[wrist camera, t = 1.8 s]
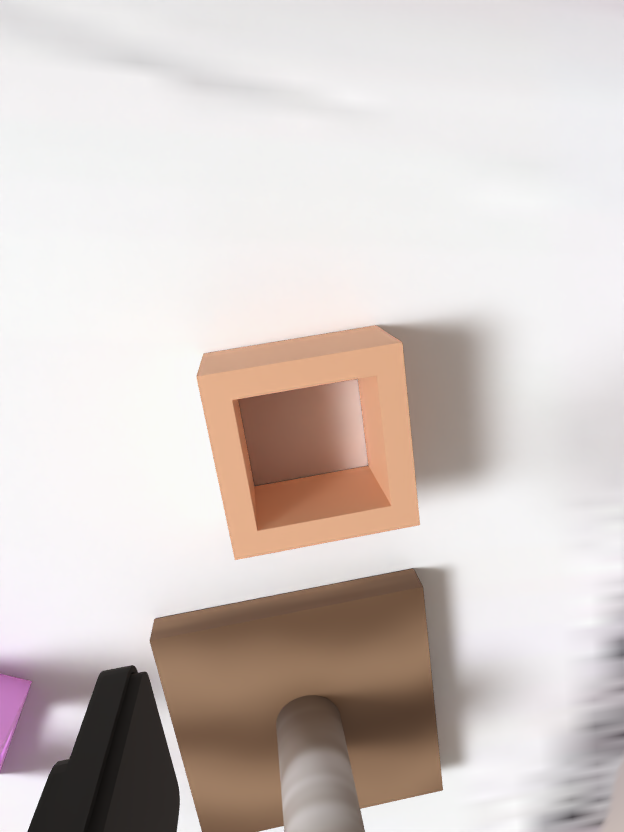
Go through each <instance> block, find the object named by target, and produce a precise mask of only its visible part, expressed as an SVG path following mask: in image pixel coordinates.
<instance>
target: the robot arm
mask: <svg viewBox="0 0 624 832" xmlns="http://www.w3.org/2000/svg"><path fill="white" fill-rule="evenodd" d="M179 806H180V796H179V787H178V782H177V779H176V775H175V771H174V768H173V764H172V760H171V757H170V753H169V749H168V746H167V742H166V738H165V735H164V731H163V727H162V724H161V720H160V716H159V713H158V709H157V705H156V702H155V698H154V694H153V691H152V687H151V683H150V680H149V676H148V674H147V672H140V673H138V672H137V669H136V667H135V666H133V665H132V666H126V667H121V668H116V669H111V670H106V671H102V672H101V673H100V675H99V677H98V679H97V682H96V685H95V688H94V691H93V694H92V696H91V699H90V702H89V705H88V708H87V711H86V714H85V716H84V719H83V722H82V725H81V728H80V731H79V734H78V736H77V739H76V742H75V745H74V748H73V751H72V753H71V756H70V759H68V760H63V761H58V762H57V763H56V764H55V765H54V766H53V768H52V770H51V772H50V774H49V776H48V779H47V782H46V784H45V787H44V789H43V792H42V795H41V797H40V800H39V803H38V805H37V808H36V811H35V813H34V816H33V818H32V821H31V824H30V826H29V829H28V832H177V824H178V816H179Z"/></svg>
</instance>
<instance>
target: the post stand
mask: <svg viewBox="0 0 624 832" xmlns="http://www.w3.org/2000/svg"><path fill="white" fill-rule="evenodd" d="M150 644H151V647H152V651H153V655H154V658H155V662H156V666H157V669H158V673H159V677H160V680H161V684H162V687H163V691H164V695H165V698H166V702H167V706H168V709H169V713H170V717H171V720H172V724H173V727H174V731H175V735H176V738H177V742H178V746H179V749H180V753H181V757H182V760H183V764H184V768H185V771H186V775H187V778H188V782H189V786H190V789H191V793H192V797H193V800H194V804H195V808H196V811H197V815H198V818H199V822H200V826H201V829H202V832H258V831H263V830H267V829H271V828H276V827H280V826H284V832H365V830H364V825H363V821H362V816H361V811H360V809H361V808H366V807H370V806H374V805H379V804H383V803H388V802H392V801H397V800H401V799H406V798H410V797H415V796H419V795H424V794H428V793H433V792H437V791H442V790H443V786H442V776H441V765H440V755H439V745H438V735H437V725H436V714H435V704H434V694H433V684H432V674H431V663H430V653H429V643H428V633H427V623H426V612H425V602H424V592H423V586H422V584H421V582H420V580H419V578H418V576H417V575H416V573H415V571H414V569H408V570H403V571H398V572H393V573H388V574H383V575H377V576H372V577H367V578H362V579H357V580H352V581H347V582H342V583H336V584H331V585H326V586H321V587H316V588H311V589H306V590H300V591H295V592H290V593H285V594H280V595H275V596H270V597H265V598H259V599H254V600H249V601H244V602H239V603H234V604H229V605H223V606H218V607H213V608H208V609H203V610H198V611H193V612H188V613H182V614H177V615H172V616H167V617H162V618H157V619H154V623H153V628H152V633H151V637H150Z"/></svg>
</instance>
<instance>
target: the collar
mask: <svg viewBox="0 0 624 832" xmlns="http://www.w3.org/2000/svg"><path fill="white" fill-rule="evenodd" d="M354 379H358V384H359V392H360V400H361V408H362V416H363V425H364V433H365V441H366V449H367V457H368V465H369V466H364V467H359V468H353V469H348V470H342V471H337V472H331V473H326V474H320V475H315V476H309V477H304V478H298V479H293V480H287V481H282V482H276V483H270V484H265V485H259V486H254V481H253V476H252V471H251V465H250V460H249V455H248V449H247V444H246V439H245V434H244V428H243V423H242V418H241V413H240V407H239V402H238V399H242V398H248V397H254V396H259V395H265V394H271V393H277V392H283V391H289V390H295V389H301V388H307V387H312V386H318V385H324V384H330V383H336V382H342V381H348V380H354ZM197 381H198V386H199V391H200V396H201V400H202V405H203V410H204V415H205V419H206V424H207V429H208V434H209V438H210V443H211V448H212V453H213V458H214V462H215V467H216V472H217V477H218V481H219V486H220V491H221V496H222V500H223V505H224V510H225V515H226V520H227V524H228V529H229V534H230V539H231V543H232V548H233V553H234V558H235V560H238V559H243V558H248V557H254V556H259V555H264V554H269V553H275V552H280V551H285V550H290V549H296V548H301V547H306V546H312V545H317V544H322V543H327V542H333V541H338V540H343V539H348V538H354V537H359V536H364V535H370V534H375V533H380V532H385V531H391V530H396V529H401V528H407V527H412V526H417V525H420V520H419V510H418V500H417V489H416V479H415V469H414V458H413V448H412V437H411V427H410V417H409V406H408V396H407V385H406V375H405V365H404V354H403V344H402V342H401V341H400V340H398V339H397V338H395V337H393V336H392V335H390V334H389V333H387V332H386V331H384V330H383V329H381V328H379V327H378V326H376V325H375V326H369V327H363V328H357V329H351V330H345V331H339V332H332V333H326V334H320V335H314V336H308V337H302V338H296V339H290V340H284V341H277V342H271V343H265V344H259V345H253V346H247V347H241V348H235V349H229V350H223V351H216V352H210V353H204V354H203V357H202V360H201V363H200V367H199V370H198V373H197Z"/></svg>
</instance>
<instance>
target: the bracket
mask: <svg viewBox="0 0 624 832" xmlns="http://www.w3.org/2000/svg"><path fill="white" fill-rule="evenodd" d="M31 682H32V681H29V680H25V679H21V678H16V677H12V676H8V675H4V674H0V771H1V768H2V765H3V762H4V760H5V757H6V754H7V751H8V748H9V745H10V742H11V740H12V737H13V734H14V731H15V728H16V725H17V722H18V720H19V717H20V714H21V711H22V708H23V705H24V702H25V700H26V697H27V694H28V691H29V688H30V685H31Z"/></svg>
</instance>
